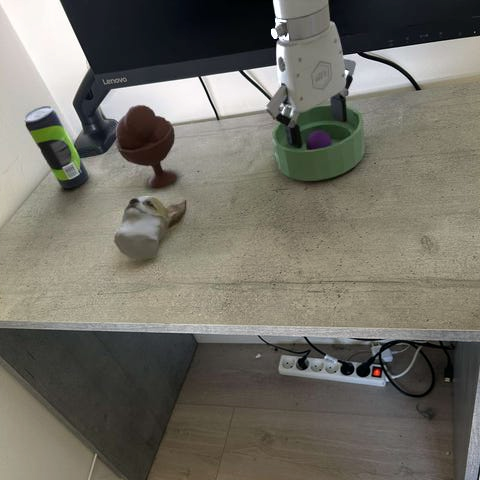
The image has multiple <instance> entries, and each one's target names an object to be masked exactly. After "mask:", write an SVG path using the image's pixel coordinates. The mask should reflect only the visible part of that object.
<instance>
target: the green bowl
mask: <svg viewBox="0 0 480 480" xmlns="http://www.w3.org/2000/svg"><path fill="white" fill-rule="evenodd" d="M346 108H347V121H346V122H341V121H338V120H336V119H333V118H332V111H331V103H326V104H325V103H324V104H319V105H317V106H316V107H314V108H312V109H310V110H308V111H306V112H303V113H300V114H299V117H298V119H297V122H296V124H297V125H299V127H300V133H301V140H302V148H300V149H298V148H296V147H294V146H292V145H290V144H289V143H288V142H287V139H286V134H285V129H284V124H282V123H280V122H278V123H277V124H276V125H275V127H274V129H273V130H272V131H271V141H272V145H273V150H274V151H273V152H274V155H275V160H276V165H277V168H278V169H279V171H280V172H281V174H283V175H284V176H286V177H288V178H290V179H293V180H297V181H303V182H307V181H308V182H317V181H321V180H329V179H331V178H334V177H338V176H339V175H343V174H345V173H347V172H348V171H350V170H351V169H353V168H355V167H356V166H357V165H358V164H359V163H360V162H361V161H362V159H363V158H364V155H365V152H366V142H365V141H366V139H365V125H364V124H365V121H364V117H363V114H362V113H361V112H360V111H359V110H358V109H357V108H354V107H352V106H350V105H347V104H346ZM290 116H291V114H290V115H289V118H290ZM318 130H321V131H324V132H326V133H327V134H328V135H329V136H330V138H331V141H332V145H331V146H328V147H324V148H319V149H314V150H307V148H306V141H307V138H308V137H309V135H310V134H311V133H313V132H314V131H318Z"/></svg>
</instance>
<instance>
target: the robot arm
mask: <svg viewBox="0 0 480 480" xmlns="http://www.w3.org/2000/svg"><path fill="white" fill-rule="evenodd" d="M272 2H273V3H272V4H273V10H274V14H275V27H273V28H272V29H271V36H272V37H273V39H276V40H277V39H278V38H279V39H278V40H277V41H276V50H275V51H276V73H277V82H278V89H277V91H276V92H275V93H274V94H273V95H272V97H271V99H270V100H269V102H268V103H267V104H266V106H265V110H266V112H267V113H268V114H269V115H270V117H272V120H274V121H276V122H278V123H279V122H280V123H282V124H284V129H285V134H286V139H287V142H288V143H289V144H290V145H292V146H294V147H296V148H298V149H300V148H302V140H301V133H300V127H299V125H297V124H296V122H297V119H298V117H299V114H300V113H303V112H306V111H308V110H310V109H312V108H314V107H316V106H317V105H322V104H323V103H325V102H326V101H328V100H330V104H331V111H332V118H333V119H336V120H338V121H341V122H346V121H347V108H346V105H347V97H348V96H349V94H350V91H349V89H350V87H351V86H352V83H353V80H354V78H353V77H354V76H353V75H354V73H355V70H356V66H357V62H356V61H355V60H351V59H346V58H344V53H343V48H342V44H341V38H340V36H339V35H340V34H339V32H338V28H337V26H336V24H335V22H334V21H331V16H330V15H331V14H330V6H329V0H272ZM281 105H283V109H282V112H281V110H280V106H281ZM289 115H291V116H290V118H289Z"/></svg>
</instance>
